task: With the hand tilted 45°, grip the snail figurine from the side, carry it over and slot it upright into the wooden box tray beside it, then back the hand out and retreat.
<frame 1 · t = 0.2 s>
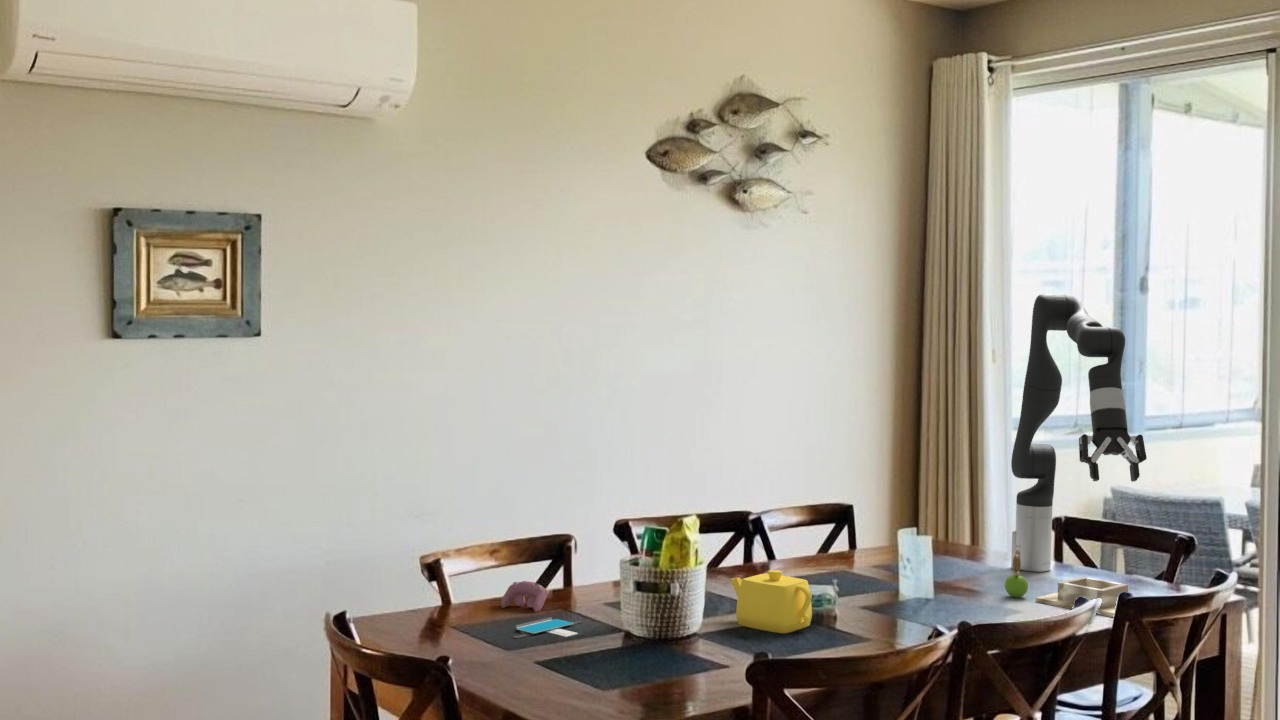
hand: (1115, 480, 302), 31 cm above the table, tool tilted 20°, fingers open, 8 cm apart
teapot: (770, 625, 292), on the table
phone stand: (551, 634, 283), on the table
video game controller: (524, 609, 303), on the table
wooden box tray: (1092, 604, 317), on the table
snail figurine: (1016, 597, 325), on the table
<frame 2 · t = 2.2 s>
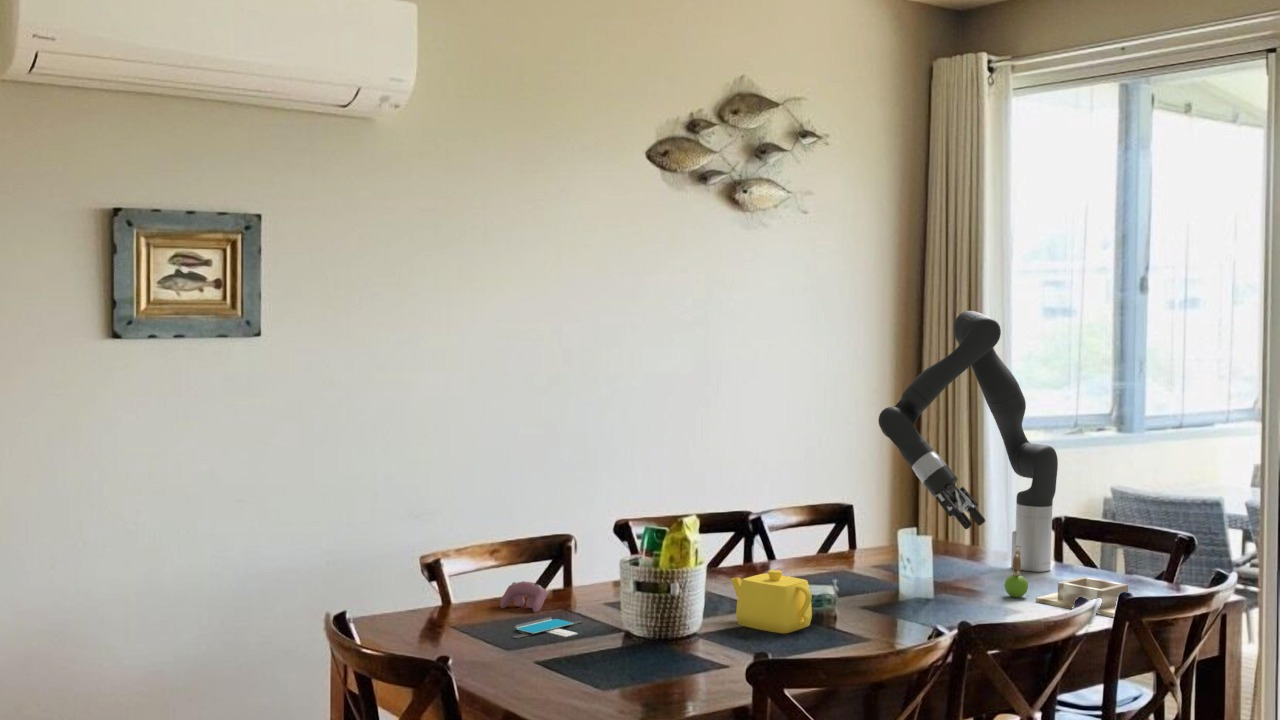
hand: (976, 525, 330), 16 cm above the table, tool tilted 45°, fingers open, 8 cm apart
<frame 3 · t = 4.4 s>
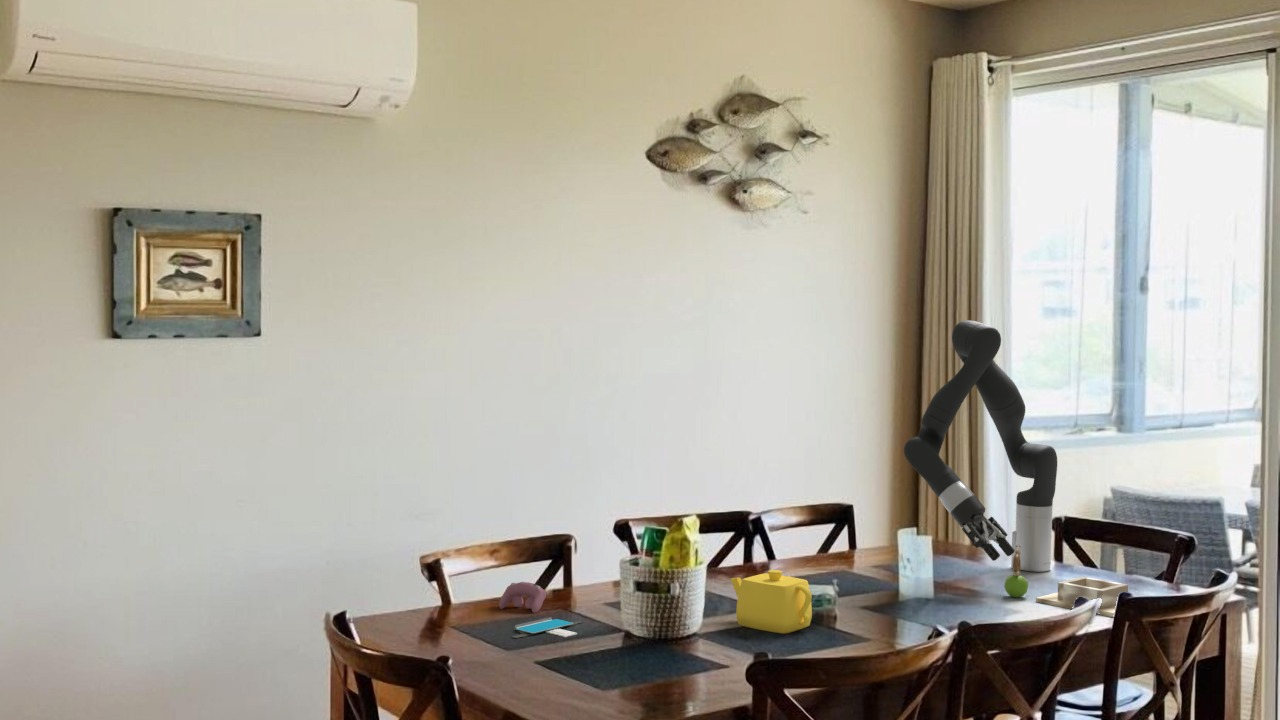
hand: (1004, 556, 326), 9 cm above the table, tool tilted 45°, fingers open, 8 cm apart
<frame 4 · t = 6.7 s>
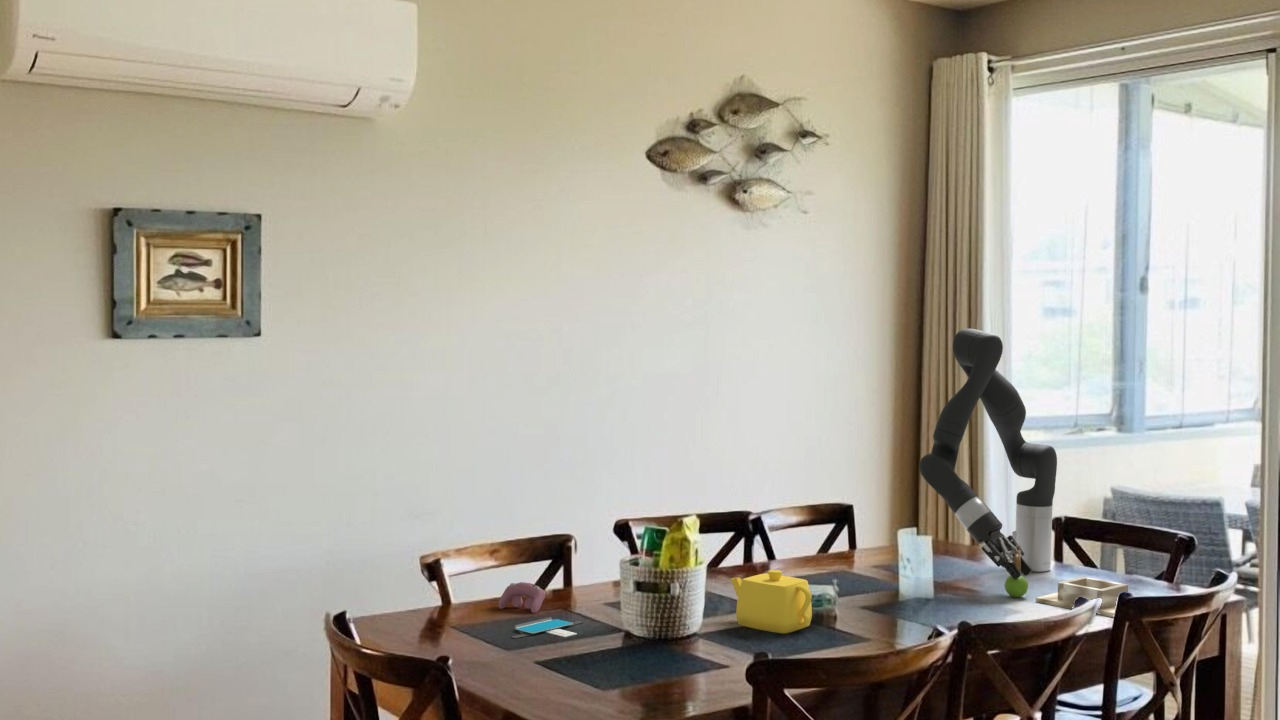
hand: (1023, 575, 323), 5 cm above the table, tool tilted 45°, fingers closed on snail figurine, 5 cm apart
snail figurine: (1016, 597, 325), on the table, touching gripper
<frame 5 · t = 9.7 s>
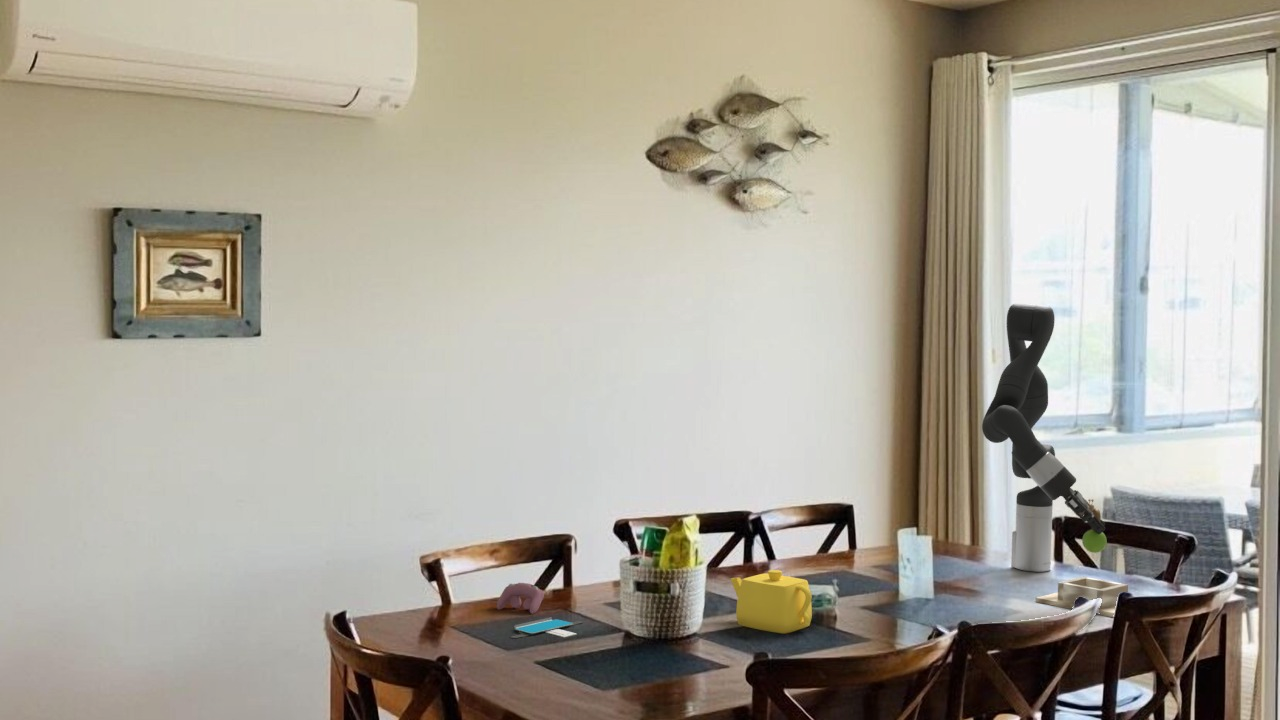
hand: (1102, 529, 316), 18 cm above the table, tool tilted 45°, fingers closed on snail figurine, 5 cm apart
snail figurine: (1093, 552, 317), point 12 cm above the table, touching gripper
when the fingers open (8 cm above the table, at t = 13.2 s): snail figurine drops 1 cm, resting on wooden box tray.
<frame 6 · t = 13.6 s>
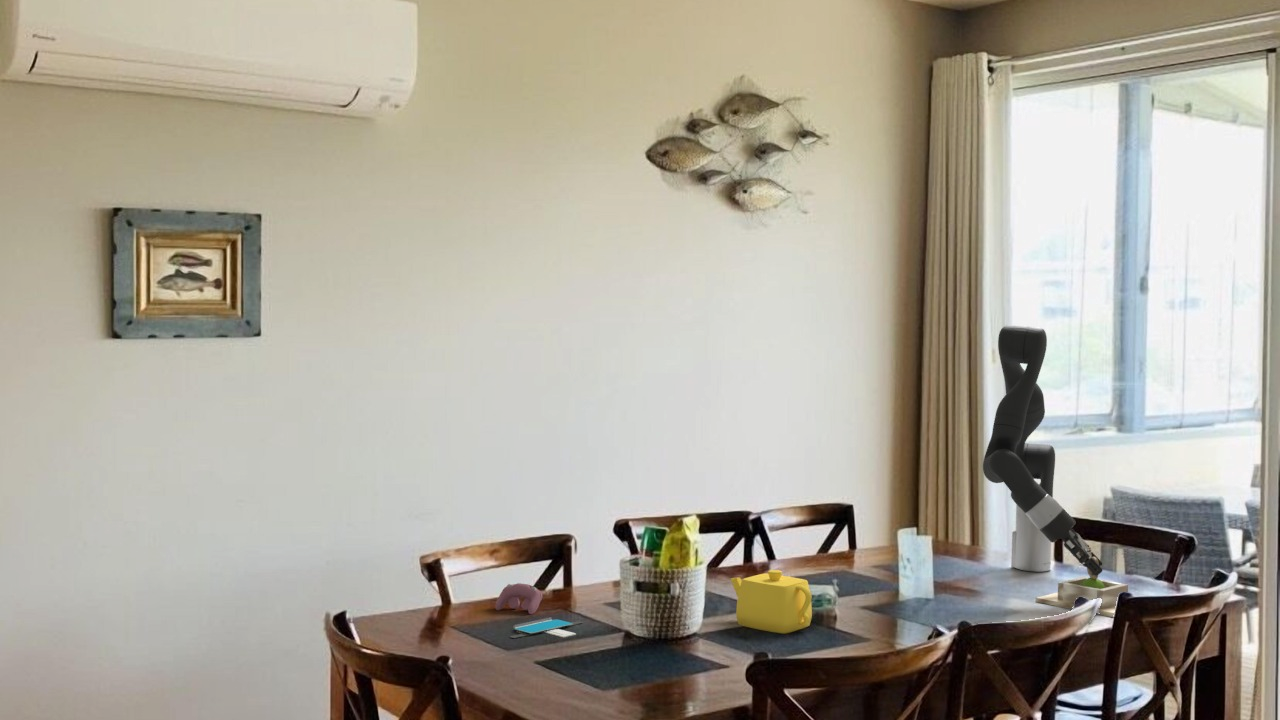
hand: (1099, 569, 317), 8 cm above the table, tool tilted 45°, fingers open, 8 cm apart
snail figurine: (1091, 601, 318), point 1 cm above the table, touching wooden box tray
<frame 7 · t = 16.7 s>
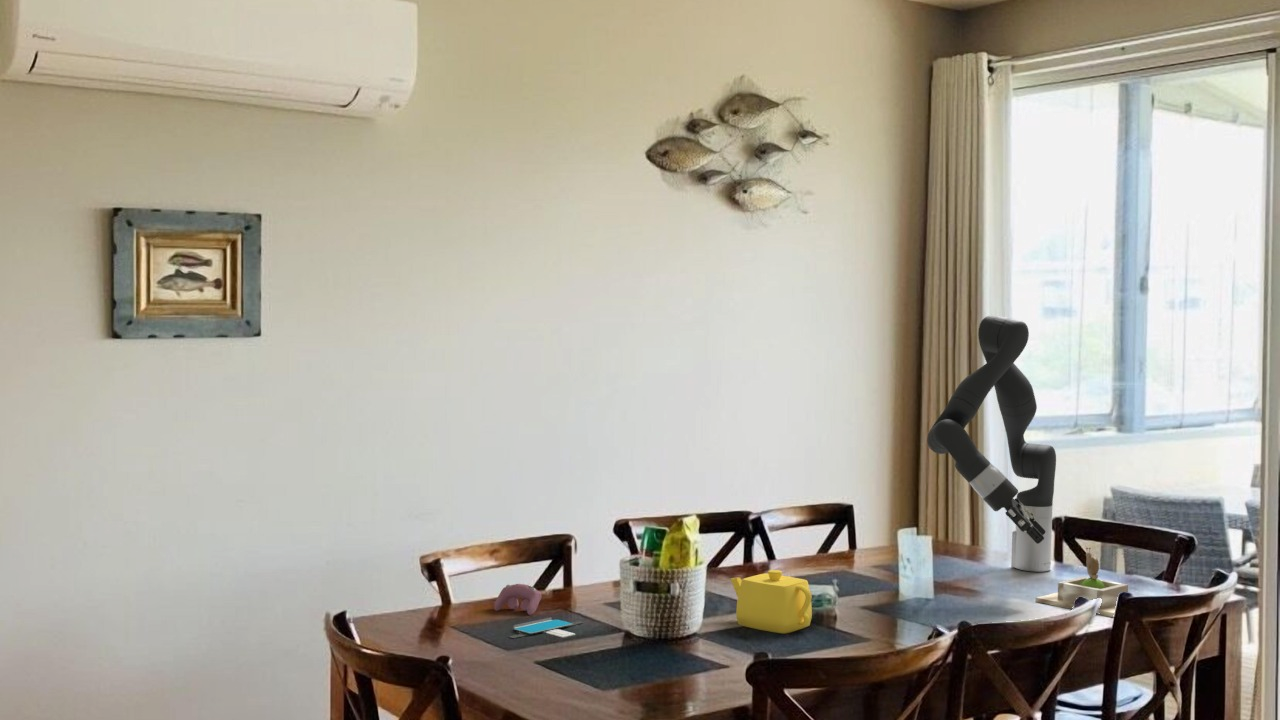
hand: (1042, 537, 321), 15 cm above the table, tool tilted 45°, fingers open, 8 cm apart
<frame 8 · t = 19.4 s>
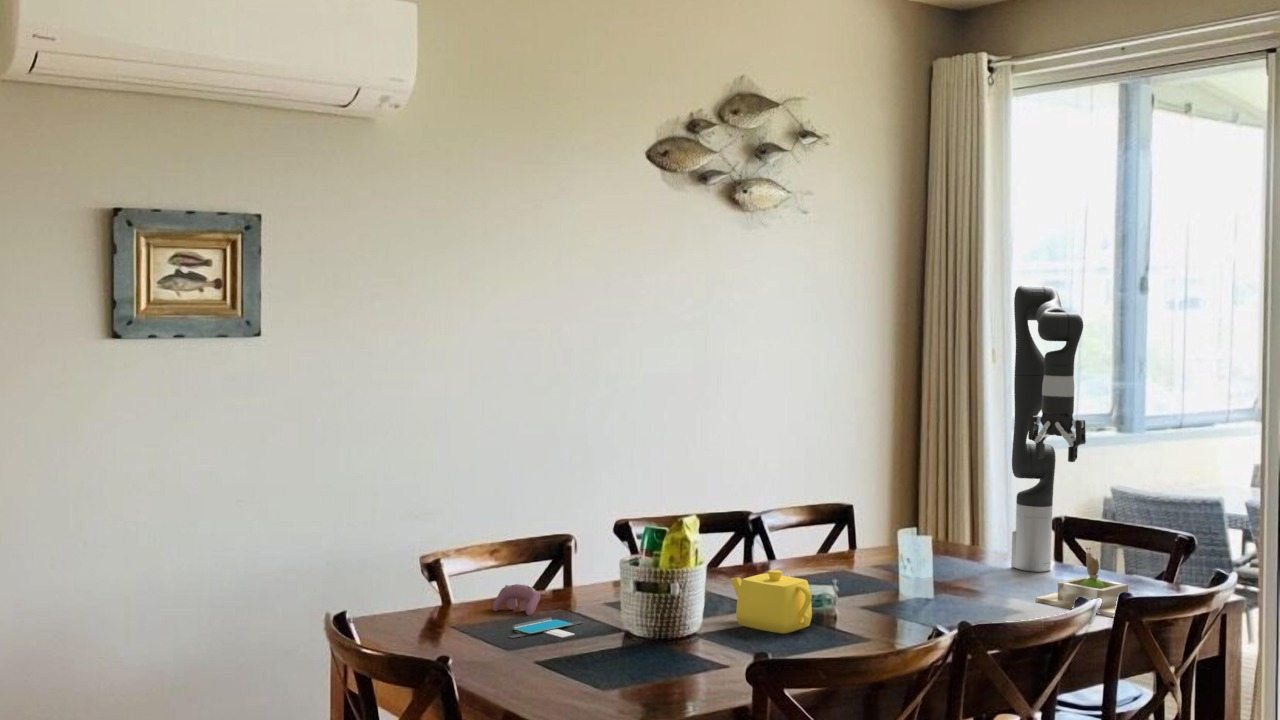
hand: (1055, 460, 332), 32 cm above the table, tool pointing down, fingers open, 8 cm apart
at the end: snail figurine 0.3 cm off-centre on the wooden box tray, point 0.8 cm above the wooden box tray's base; snail figurine tilted 0°; the gripper is holding nothing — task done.
